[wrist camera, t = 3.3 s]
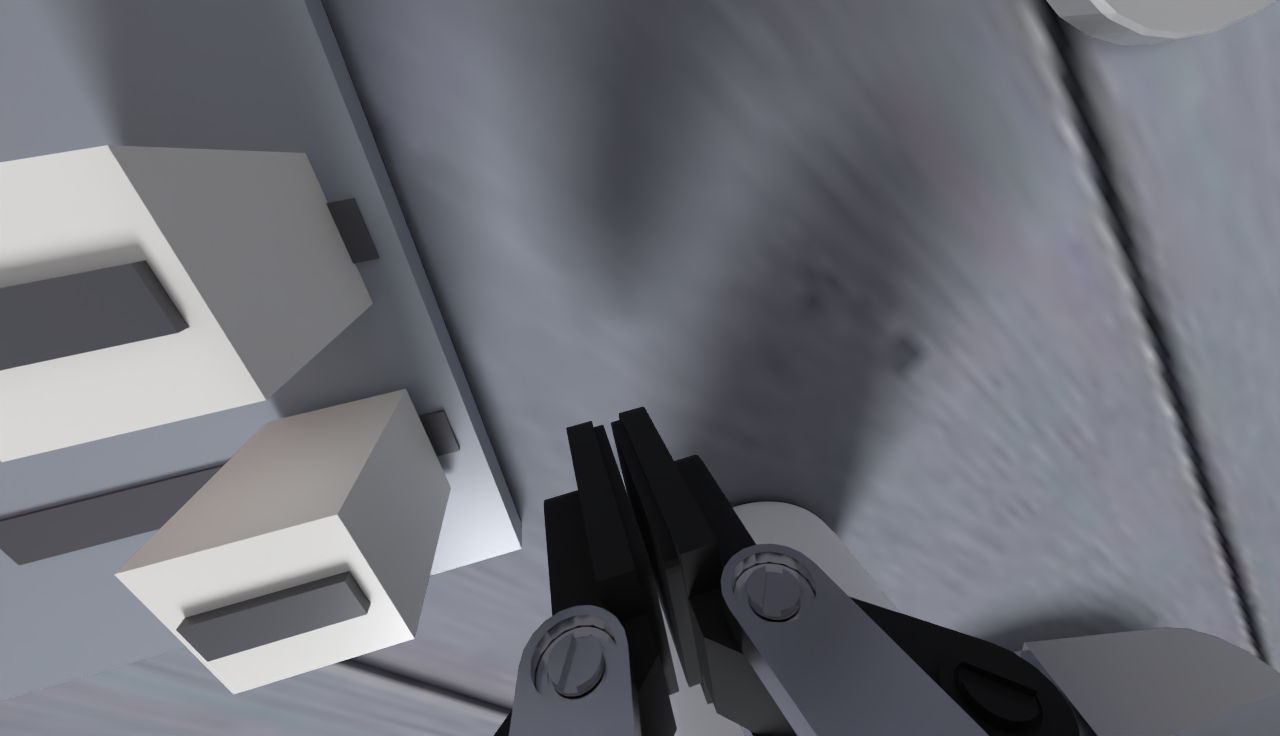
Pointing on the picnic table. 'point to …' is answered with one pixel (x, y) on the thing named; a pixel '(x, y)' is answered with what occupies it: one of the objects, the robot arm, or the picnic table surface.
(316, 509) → the breaker toggle
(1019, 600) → the picnic table surface
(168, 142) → the breaker panel
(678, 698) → the pill bottle
